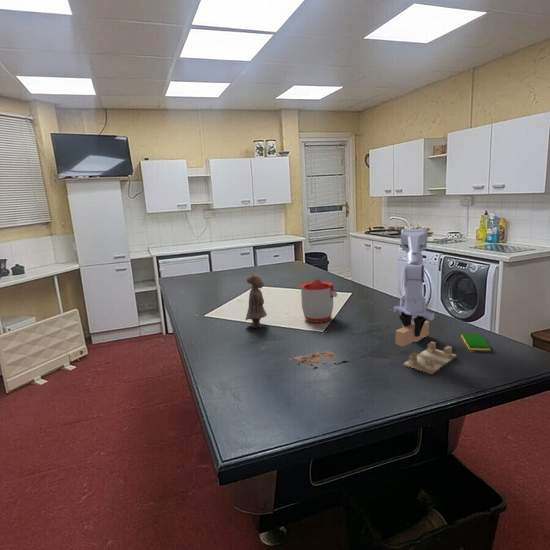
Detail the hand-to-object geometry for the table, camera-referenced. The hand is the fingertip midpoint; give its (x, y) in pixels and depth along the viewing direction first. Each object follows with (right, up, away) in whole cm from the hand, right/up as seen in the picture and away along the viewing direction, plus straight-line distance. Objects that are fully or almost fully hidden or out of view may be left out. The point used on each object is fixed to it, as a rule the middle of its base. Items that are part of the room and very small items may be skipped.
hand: (412, 334), depth 138 cm
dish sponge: (+27, -6, +10) cm, 30 cm away
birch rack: (+5, -9, -3) cm, 11 cm away
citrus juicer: (-28, 0, +47) cm, 55 cm away
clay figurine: (-58, -3, +43) cm, 72 cm away
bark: (-34, -10, +3) cm, 36 cm away
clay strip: (0, -2, 0) cm, 2 cm away
